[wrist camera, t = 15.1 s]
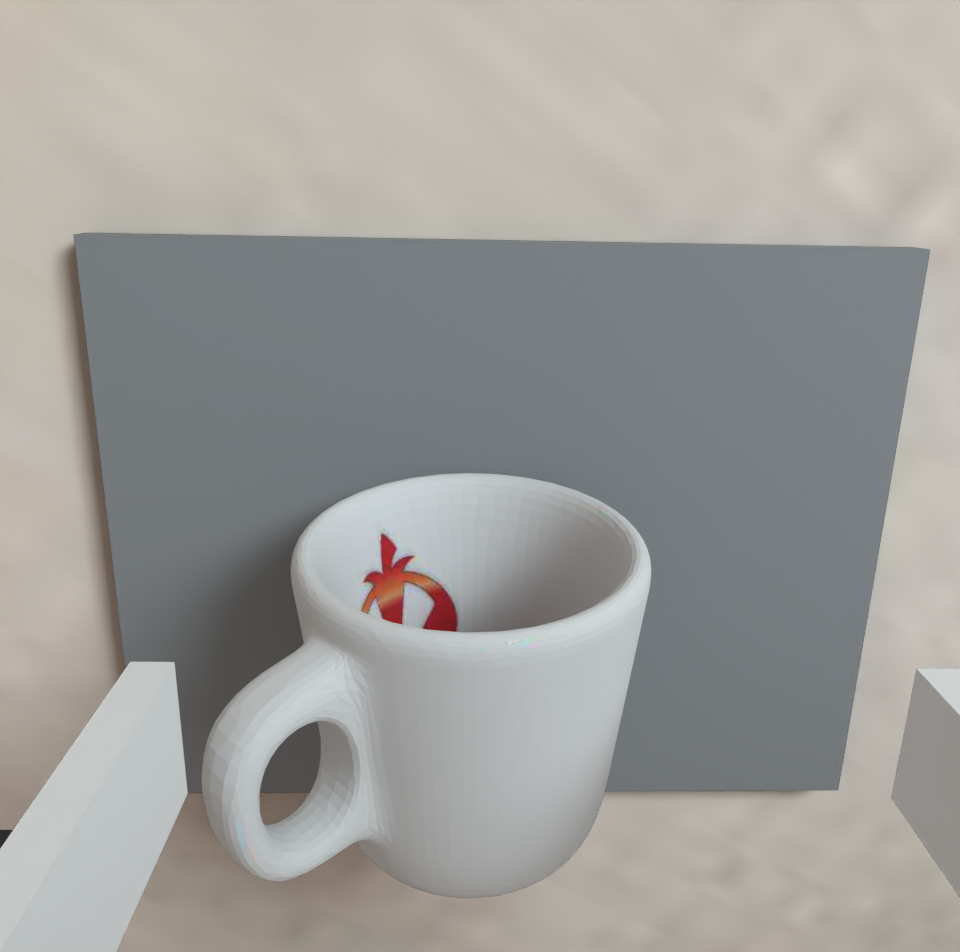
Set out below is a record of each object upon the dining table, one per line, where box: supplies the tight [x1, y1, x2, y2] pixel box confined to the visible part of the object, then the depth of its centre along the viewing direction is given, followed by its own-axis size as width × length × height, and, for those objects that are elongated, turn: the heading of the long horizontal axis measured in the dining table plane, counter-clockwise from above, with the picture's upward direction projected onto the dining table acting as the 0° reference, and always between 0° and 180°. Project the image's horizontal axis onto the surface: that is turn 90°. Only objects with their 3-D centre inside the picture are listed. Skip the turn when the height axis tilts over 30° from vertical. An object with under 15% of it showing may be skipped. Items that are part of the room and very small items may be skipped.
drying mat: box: [74, 233, 930, 793], centre depth 25 cm, size 21×16×1 cm
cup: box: [201, 473, 651, 898], centre depth 21 cm, size 11×8×8 cm
